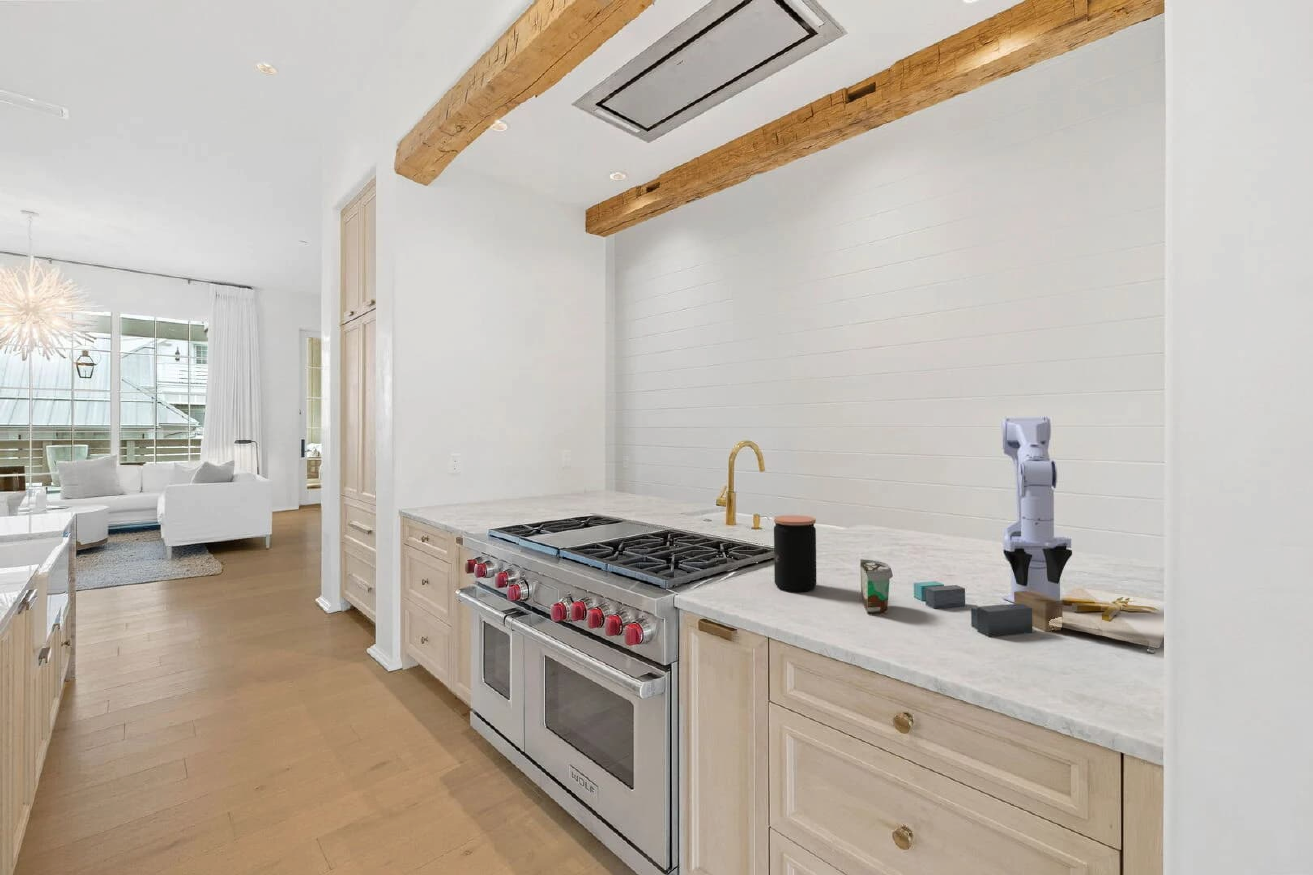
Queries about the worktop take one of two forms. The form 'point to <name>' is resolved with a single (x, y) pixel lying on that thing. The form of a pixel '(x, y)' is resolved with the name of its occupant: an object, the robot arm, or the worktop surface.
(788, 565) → the coffee jar
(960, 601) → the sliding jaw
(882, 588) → the food container
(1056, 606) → the walnut block
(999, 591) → the worktop surface
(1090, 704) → the worktop surface
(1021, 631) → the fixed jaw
